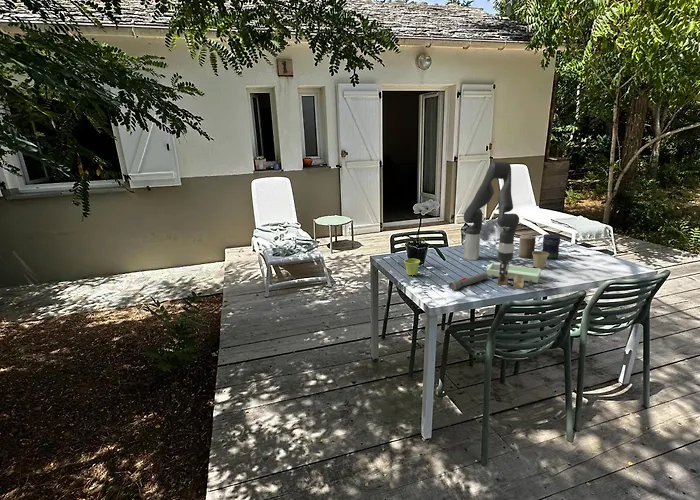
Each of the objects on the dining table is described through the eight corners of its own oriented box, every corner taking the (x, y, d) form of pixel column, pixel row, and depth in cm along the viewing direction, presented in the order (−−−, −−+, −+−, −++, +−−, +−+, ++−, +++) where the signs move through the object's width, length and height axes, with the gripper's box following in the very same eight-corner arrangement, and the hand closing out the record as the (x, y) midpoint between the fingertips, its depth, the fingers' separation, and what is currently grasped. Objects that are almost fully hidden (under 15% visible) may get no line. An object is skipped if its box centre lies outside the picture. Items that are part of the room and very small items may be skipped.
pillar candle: (536, 258, 252) (538, 236, 249) (521, 258, 253) (523, 236, 249) (530, 254, 262) (532, 233, 258) (515, 254, 262) (517, 233, 258)
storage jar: (544, 254, 259) (546, 233, 255) (560, 257, 253) (562, 235, 249) (538, 258, 253) (541, 236, 249) (554, 261, 246) (557, 238, 242)
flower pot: (549, 269, 231) (551, 255, 229) (532, 268, 233) (534, 255, 231) (545, 264, 240) (546, 251, 238) (529, 264, 242) (530, 250, 240)
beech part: (513, 287, 206) (514, 278, 205) (514, 284, 210) (515, 275, 209) (522, 288, 204) (523, 279, 203) (523, 285, 208) (524, 276, 206)
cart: (485, 277, 221) (485, 270, 220) (491, 269, 234) (492, 262, 233) (537, 285, 207) (537, 277, 206) (540, 275, 221) (541, 268, 220)
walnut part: (497, 284, 210) (498, 276, 209) (499, 282, 214) (499, 273, 213) (506, 285, 208) (507, 277, 207) (507, 283, 212) (508, 274, 210)
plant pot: (410, 278, 223) (410, 264, 221) (400, 273, 232) (400, 260, 229) (423, 275, 228) (423, 261, 225) (413, 271, 236) (413, 257, 233)
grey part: (494, 272, 223) (494, 264, 222) (494, 270, 227) (495, 262, 226) (502, 273, 222) (503, 265, 220) (502, 270, 226) (503, 262, 224)
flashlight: (489, 280, 217) (490, 272, 216) (455, 292, 203) (455, 283, 201) (482, 278, 221) (482, 269, 220) (447, 289, 207) (448, 280, 205)
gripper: (500, 246, 213) (498, 274, 218) (495, 253, 202) (493, 282, 206) (515, 248, 210) (513, 276, 214) (511, 254, 198) (508, 284, 202)
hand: (503, 279), depth 210 cm, fingers open, 8 cm apart
